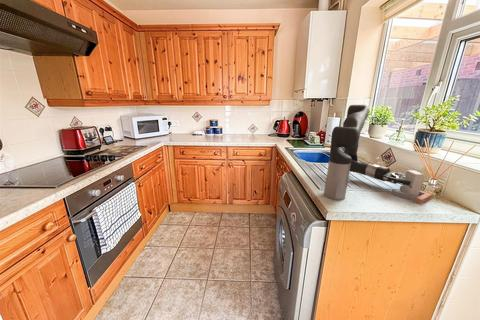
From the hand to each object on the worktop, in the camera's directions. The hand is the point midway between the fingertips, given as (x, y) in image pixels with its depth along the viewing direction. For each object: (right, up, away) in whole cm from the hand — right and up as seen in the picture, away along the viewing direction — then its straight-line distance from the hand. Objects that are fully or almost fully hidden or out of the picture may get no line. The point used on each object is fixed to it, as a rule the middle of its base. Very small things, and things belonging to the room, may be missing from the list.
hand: (413, 181), depth 95 cm
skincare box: (0, -7, +2) cm, 8 cm away
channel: (0, -7, +2) cm, 7 cm away
